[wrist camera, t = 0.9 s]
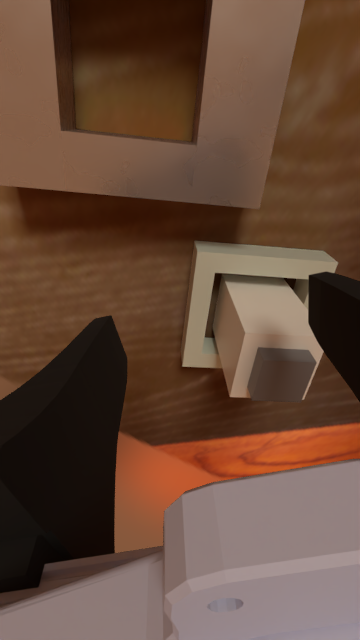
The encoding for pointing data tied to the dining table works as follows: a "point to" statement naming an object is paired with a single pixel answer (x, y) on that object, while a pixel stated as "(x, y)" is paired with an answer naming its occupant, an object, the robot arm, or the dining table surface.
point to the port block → (136, 151)
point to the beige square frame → (242, 262)
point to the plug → (264, 339)
